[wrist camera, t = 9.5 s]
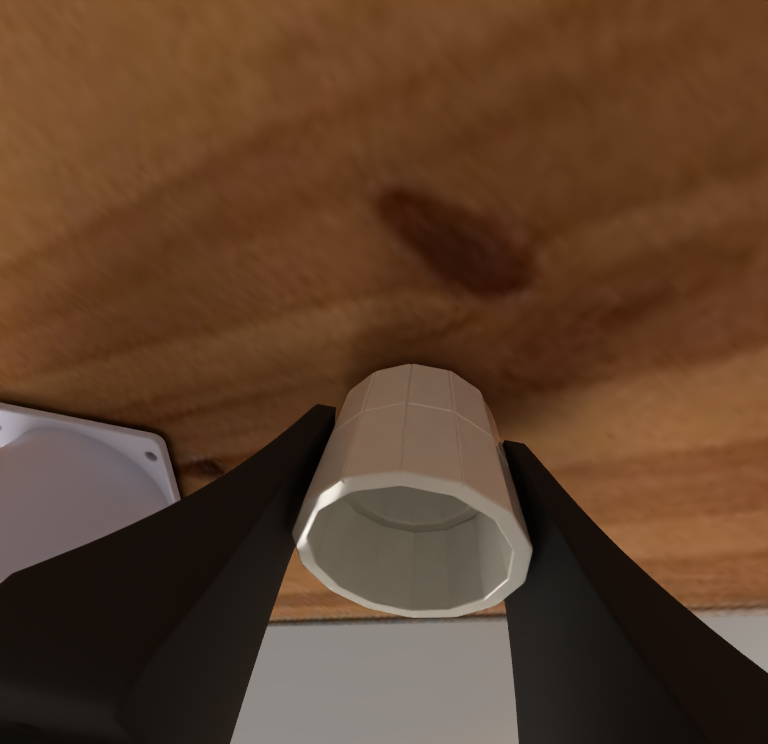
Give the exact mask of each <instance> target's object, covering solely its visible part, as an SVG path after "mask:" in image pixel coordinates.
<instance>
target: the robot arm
mask: <svg viewBox="0 0 768 744" xmlns="http://www.w3.org/2000/svg"><path fill="white" fill-rule="evenodd" d="M335 413H336V407H331V406H325V405H320V404H317V405H315V406H314V407H312V408H311V409H310V410H309V411H308V412H307V413H306V414H305V415H303V416H302V417H301V418H300V419H299V420H298V421H296V422H295V423H294V424H293V425H292V426H291V427H289V428H288V429H287V430H286V431H284V432H283V433H282V434H281V435H279V436H278V437H277V438H276V439H274V440H273V441H272V442H271V443H269V444H268V445H267V446H265V447H264V448H263V449H261V450H260V451H258V452H257V453H256V454H254V455H253V456H251V457H250V458H249V459H247V460H246V461H244V462H243V463H241V464H240V465H238V466H237V467H235V468H234V469H232V470H231V471H229V472H228V473H226V474H225V475H223V476H221V477H220V478H218V479H216V480H215V481H213V482H212V483H210V484H208V485H206V486H205V487H203V488H201V489H199V490H198V491H196V492H194V493H192V494H190V495H189V496H187V497H185V498H183V499H181V498H180V495H179V491H178V487H177V483H176V480H175V476H174V472H173V469H172V465H171V461H170V458H169V454H168V450H167V446H166V443H165V441H164V439H163V438H162V437H160V436H159V435H157V434H154V433H150V432H145V431H140V430H135V429H130V428H125V427H120V426H115V425H110V424H105V423H100V422H95V421H90V420H85V419H80V418H75V417H70V416H65V415H60V414H55V413H50V412H45V411H40V410H35V409H30V408H25V407H20V406H15V405H10V404H5V403H0V447H1V448H0V744H230V742H231V738H232V735H233V732H234V728H235V725H236V722H237V718H238V716H239V712H240V709H241V705H242V703H243V699H244V696H245V693H246V689H247V687H248V683H249V680H250V677H251V674H252V671H253V668H254V665H255V662H256V658H257V655H258V652H259V649H260V646H261V643H262V639H263V637H264V634H265V630H266V628H267V625H268V622H269V619H270V616H271V613H272V610H273V607H274V604H275V601H276V598H277V595H278V592H279V589H280V586H281V583H282V580H283V577H284V574H285V571H286V569H287V566H288V563H289V561H290V558H291V556H292V553H293V551H294V548H295V546H296V545H295V542H294V539H293V536H292V529H293V526H294V524H295V521H296V519H297V516H298V513H299V511H300V508H301V506H302V503H303V501H304V498H305V496H306V493H307V491H308V489H309V486H310V484H311V481H312V479H313V476H314V474H315V472H316V469H317V467H318V464H319V462H320V460H321V457H322V455H323V452H324V450H325V447H326V445H327V443H328V440H329V438H330V436H331V433H332V431H333V428H334V425H335ZM502 446H503V450H504V453H505V456H506V460H507V463H508V468H509V470H510V473H511V476H512V480H513V483H514V487H515V490H516V493H517V497H518V500H519V503H520V507H521V510H522V513H523V517H524V520H525V523H526V527H527V530H528V533H529V537H530V540H531V543H532V548H533V551H532V556H531V560H530V564H529V568H528V573H527V577H526V581H525V582H524V584H522V585H521V586H520V587H519V588H518V589H516V590H515V591H514V592H513V593H511V594H510V595H509V596H508V597H506V598H505V599H504V601H505V607H506V613H507V622H508V630H509V639H510V648H511V657H512V667H513V677H514V687H515V698H516V711H517V724H518V738H519V744H768V673H767V672H766V671H764V670H763V669H761V668H760V667H759V666H758V665H756V664H755V663H754V662H753V661H751V660H750V659H749V658H747V657H746V656H745V655H743V654H742V653H741V652H739V651H738V650H737V649H736V648H734V647H733V646H732V645H731V644H729V643H728V642H727V641H726V640H724V639H723V638H722V637H721V636H719V635H718V634H717V633H716V632H714V631H713V630H712V629H711V628H709V627H708V626H707V625H706V624H705V623H703V622H702V621H701V620H700V619H699V618H697V617H696V616H695V615H694V614H693V613H692V612H690V611H689V610H688V609H687V608H686V607H684V606H683V605H682V604H681V603H680V602H678V601H677V600H676V599H675V598H674V597H672V596H671V595H670V594H669V593H668V592H667V591H666V590H664V589H663V588H662V587H661V586H660V585H659V584H658V583H657V582H655V581H654V580H653V579H652V578H651V577H650V576H649V575H648V574H647V573H646V572H645V571H643V570H642V569H641V568H640V567H639V566H638V565H637V564H636V563H635V562H634V561H633V560H632V559H631V558H629V557H628V556H627V555H626V554H625V553H624V552H623V551H622V550H621V549H620V548H619V547H618V546H617V545H616V544H615V543H614V542H613V541H612V540H611V539H610V538H609V537H608V536H607V535H606V534H605V533H604V532H603V531H602V530H601V529H600V528H599V527H598V526H597V525H596V524H595V523H594V522H593V521H592V520H591V518H590V517H589V516H588V515H587V514H586V513H585V512H584V511H583V510H582V509H581V508H580V507H579V506H578V504H577V503H576V502H575V501H574V500H573V499H572V498H571V497H570V496H569V494H568V493H567V492H566V491H565V490H564V489H563V488H562V486H561V485H560V484H559V483H558V482H557V481H556V480H555V478H554V477H553V476H552V475H551V474H550V473H549V471H548V470H547V469H546V468H545V467H544V465H543V464H542V463H541V462H540V461H539V460H538V459H537V457H536V456H535V455H534V454H533V453H532V452H531V451H530V449H529V448H528V447H527V446H526V445H525V444H523V443H517V442H512V441H507V440H505V441H504V443H503V445H502Z"/></svg>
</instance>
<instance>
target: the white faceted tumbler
mask: <svg viewBox="0 0 768 744" xmlns="http://www.w3.org/2000/svg"><path fill="white" fill-rule="evenodd" d="M292 536H293V539H294V542H295V545H296V548H297V551H298V554H299V557H300V559H301V562H302V563H303V565H304V566H305V567H306V568H307V569H308V570H309V571H310V572H311V573H312V574H313V575H314V576H315V577H316V578H317V579H319V580H320V581H321V582H322V583H323V584H324V585H325V586H326V587H327V588H328V589H330V590H331V591H333V592H335V593H337V594H339V595H341V596H343V597H345V598H347V599H350V600H352V601H354V602H356V603H358V604H360V605H362V606H364V607H366V608H369V609H374V610H378V611H383V612H387V613H392V614H397V615H401V616H406V617H413V618H423V617H458V616H462V615H465V614H469V613H472V612H476V611H479V610H482V609H486V608H489V607H493V606H495V605H498V604H499V603H500V602H502V601H503V600H504V599H505V598H506V597H508V596H509V595H510V594H511V593H513V592H514V591H515V590H516V589H518V588H519V587H520V586H521V585H522V584H524V582H525V581H526V577H527V573H528V568H529V564H530V560H531V556H532V551H533V548H532V543H531V540H530V537H529V533H528V530H527V527H526V523H525V520H524V517H523V513H522V510H521V507H520V503H519V500H518V497H517V493H516V490H515V487H514V483H513V480H512V476H511V473H510V470H509V468H508V463H507V460H506V456H505V453H504V450H503V446H502V443H501V440H500V436H499V433H498V430H497V426H496V423H495V420H494V417H493V415H492V413H491V411H490V409H489V407H488V405H487V403H486V401H485V399H484V397H483V395H482V393H481V392H480V391H479V390H478V389H477V388H475V387H474V386H472V385H471V384H470V383H468V382H467V381H465V380H464V379H462V378H461V377H459V376H458V375H456V374H455V373H453V372H452V371H448V370H444V369H439V368H434V367H428V366H423V365H418V364H412V365H411V364H406V365H401V366H397V367H392V368H388V369H383V370H378V371H376V372H374V373H372V374H371V375H369V376H368V377H367V378H366V379H364V380H363V381H362V382H360V383H359V384H358V385H357V386H355V387H354V388H353V389H351V390H350V392H349V393H348V394H347V397H346V399H345V402H344V404H343V406H342V409H341V411H340V414H339V416H338V419H337V421H336V423H335V426H334V428H333V431H332V433H331V436H330V438H329V440H328V443H327V445H326V447H325V450H324V452H323V455H322V457H321V460H320V462H319V464H318V467H317V469H316V472H315V474H314V476H313V479H312V481H311V484H310V486H309V489H308V491H307V493H306V496H305V498H304V501H303V503H302V506H301V508H300V511H299V513H298V516H297V519H296V521H295V524H294V526H293V529H292Z"/></svg>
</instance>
